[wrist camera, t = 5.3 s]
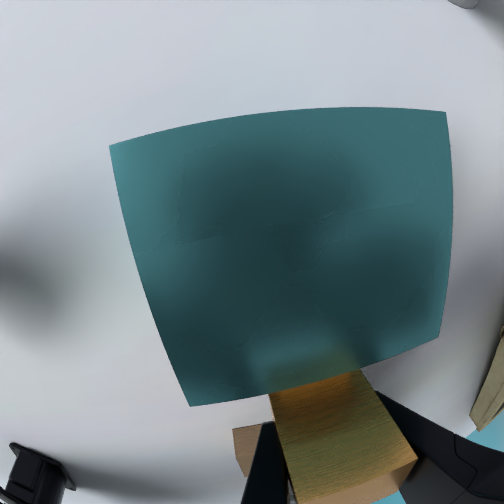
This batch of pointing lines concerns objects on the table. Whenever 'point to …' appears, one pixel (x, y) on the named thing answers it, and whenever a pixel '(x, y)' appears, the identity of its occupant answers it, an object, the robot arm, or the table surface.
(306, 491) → the yellow sliding bolt
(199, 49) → the table surface
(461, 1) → the glass holder
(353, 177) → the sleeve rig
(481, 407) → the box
